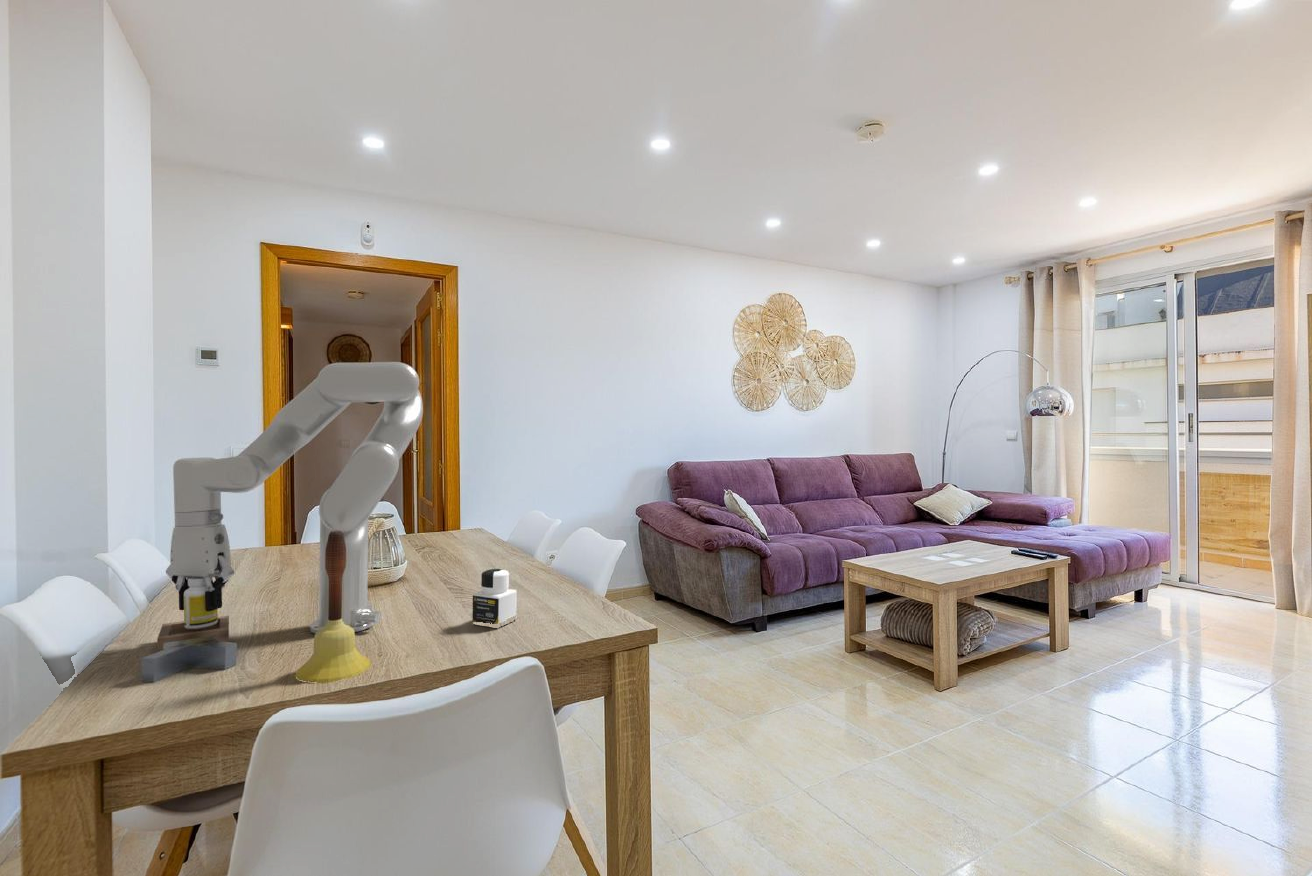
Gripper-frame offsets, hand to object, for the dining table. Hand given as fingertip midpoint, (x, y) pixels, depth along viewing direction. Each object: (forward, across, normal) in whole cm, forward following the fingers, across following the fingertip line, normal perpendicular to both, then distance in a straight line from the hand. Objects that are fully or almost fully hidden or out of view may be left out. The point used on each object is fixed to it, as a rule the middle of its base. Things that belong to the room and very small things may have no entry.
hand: (200, 608), depth 122 cm
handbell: (+8, -35, +7) cm, 37 cm away
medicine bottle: (+9, -51, -25) cm, 58 cm away
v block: (+7, -10, +12) cm, 17 cm away
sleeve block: (+7, +1, +1) cm, 7 cm away
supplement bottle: (+4, 0, 0) cm, 4 cm away
